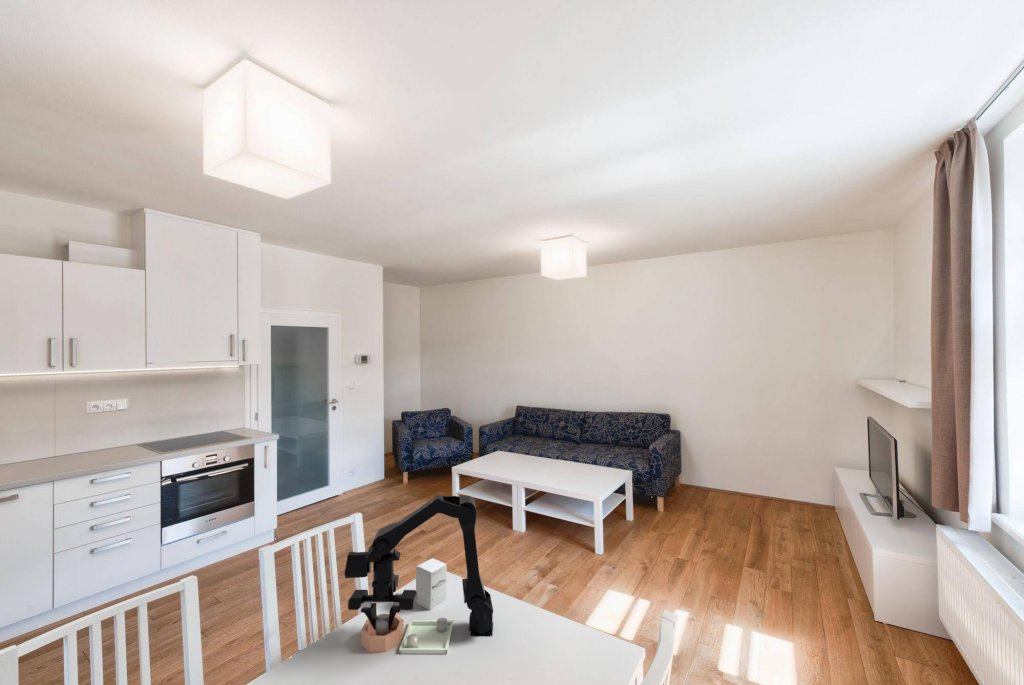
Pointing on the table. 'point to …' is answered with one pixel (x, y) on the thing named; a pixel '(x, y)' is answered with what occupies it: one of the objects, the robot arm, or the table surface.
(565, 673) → the table surface
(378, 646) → the bowl
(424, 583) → the supplement box
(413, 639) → the pebble
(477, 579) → the robot arm
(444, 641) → the tray
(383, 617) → the grey rounded cylinder
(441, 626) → the pebble
